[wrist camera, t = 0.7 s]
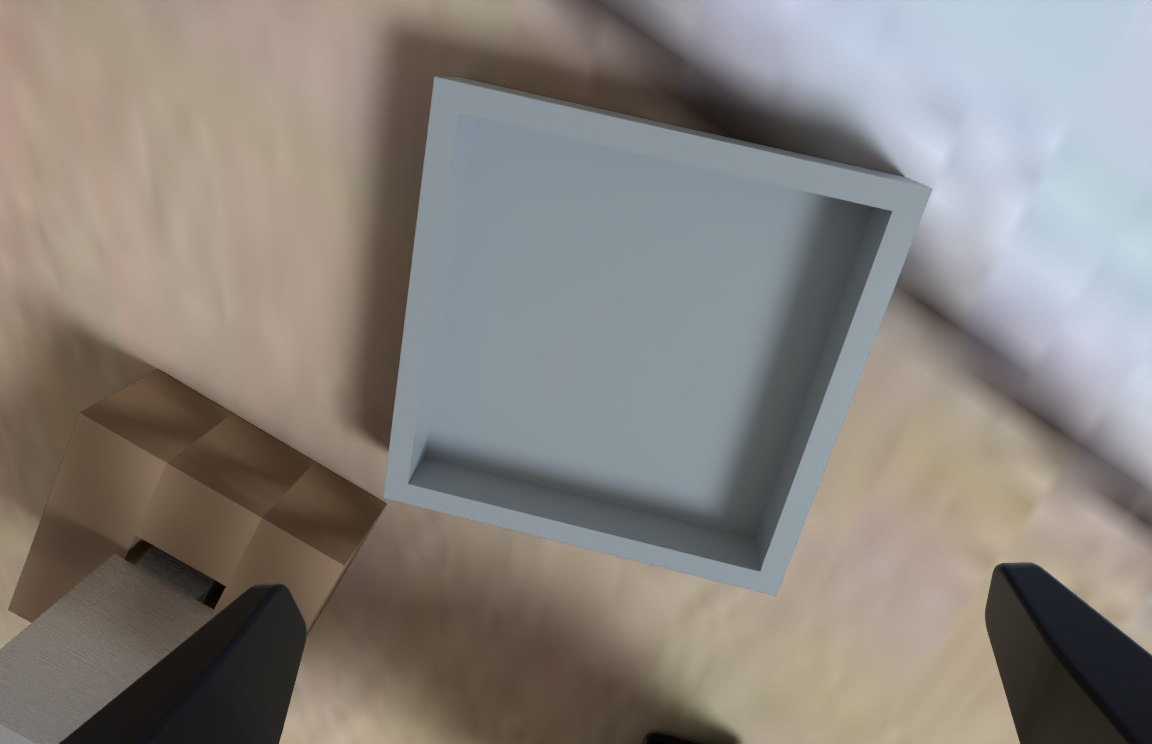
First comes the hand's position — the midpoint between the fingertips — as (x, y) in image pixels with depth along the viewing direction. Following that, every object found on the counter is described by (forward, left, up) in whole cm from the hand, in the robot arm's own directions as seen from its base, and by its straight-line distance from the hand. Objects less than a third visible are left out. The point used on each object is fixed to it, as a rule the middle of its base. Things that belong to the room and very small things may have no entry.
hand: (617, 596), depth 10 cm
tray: (-2, 0, -16) cm, 17 cm away
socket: (-14, +14, -16) cm, 26 cm away
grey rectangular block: (-14, +14, -16) cm, 26 cm away
